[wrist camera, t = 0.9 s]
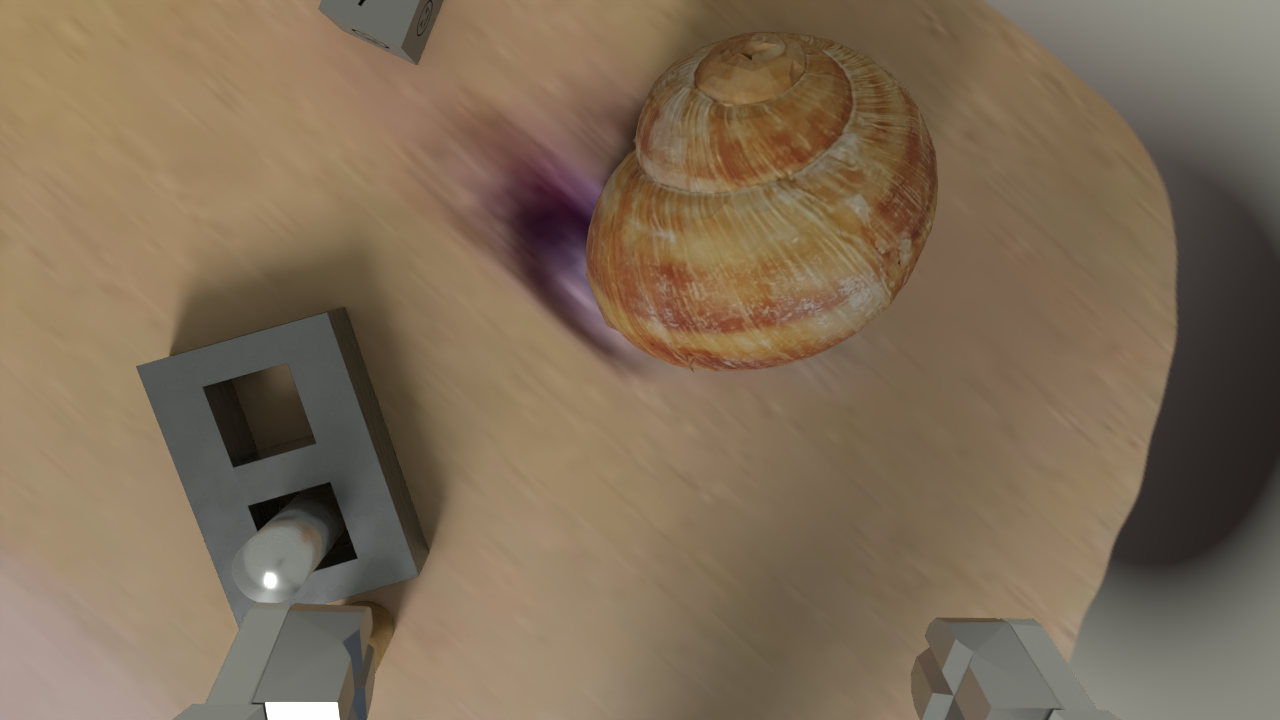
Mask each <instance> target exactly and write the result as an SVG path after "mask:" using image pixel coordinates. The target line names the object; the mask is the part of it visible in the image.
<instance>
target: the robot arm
mask: <svg viewBox="0 0 1280 720" xmlns="http://www.w3.org/2000/svg"><path fill="white" fill-rule="evenodd" d="M372 628H373V621H372V612H371V608H370V607H368V606H346V605H324V604H302V603H294V604H288V603H265V602H256V603H255V604H254V605H253V606H252V607H251V608H250V609H249V610H248V611H247V614H246V616H245V618H244V620H243V622H242V624H241V627H240V629H239V631H238V633H237V635H236V637H235V640H234V642H233V644H232V646H231V648H230V650H229V653H228V655H227V657H226V659H225V661H224V663H223V666H222V668H221V670H220V672H219V674H218V676H217V679H216V681H215V683H214V685H213V687H212V689H211V692H210V694H209V696H208V698H207V700H206V702H205V704H192V705H191V706H190V707H188V708H187V709H186V710H184V711H183V712H182V713H181V714H179V715H178V716H177V717H175V718H174V719H173V720H367V718H368V714H369V710H370V705H371V701H372V695H373V688H374V681H375V649H374V648H373V647H372V646H371V645H370V644H369V639H370V635H371V632H372ZM925 637H926V639H927V641H928V643H929V646H930V647H929V648H928V649H926V650H925V651H924V652H922V653H921V654H920V655H918V656H917V657H916V660H915V663H914V666H913V669H912V673H911V693H912V697H913V701H914V706H915V709H916V711H917V714H918V716H919V718H920V720H1120V719H1119V718H1117V717H1116V716H1115V715H1113V714H1112V713H1110V712H1109V711H1102V710H1098V709H1097V708H1096V706H1095V705H1094V703H1093V702H1092V700H1091V699H1090V697H1089V696H1088V694H1087V693H1086V691H1085V690H1084V688H1083V687H1082V685H1081V684H1080V682H1079V681H1078V680H1077V678H1076V676H1075V675H1074V673H1073V672H1072V670H1071V669H1070V667H1069V666H1068V664H1067V663H1066V661H1065V659H1064V658H1063V656H1062V655H1061V653H1060V652H1059V650H1058V649H1057V647H1056V646H1055V644H1054V643H1053V641H1052V640H1051V638H1050V637H1049V635H1048V634H1047V632H1046V631H1045V629H1044V628H1043V626H1042V625H1041V624H1040V623H1038V622H1037V621H1036V620H1034V619H1011V618H1001V619H997V618H936V619H934V620H933V621H932V622H931V623H930V624H929V627H928V629H927V632H926V634H925Z"/></svg>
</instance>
